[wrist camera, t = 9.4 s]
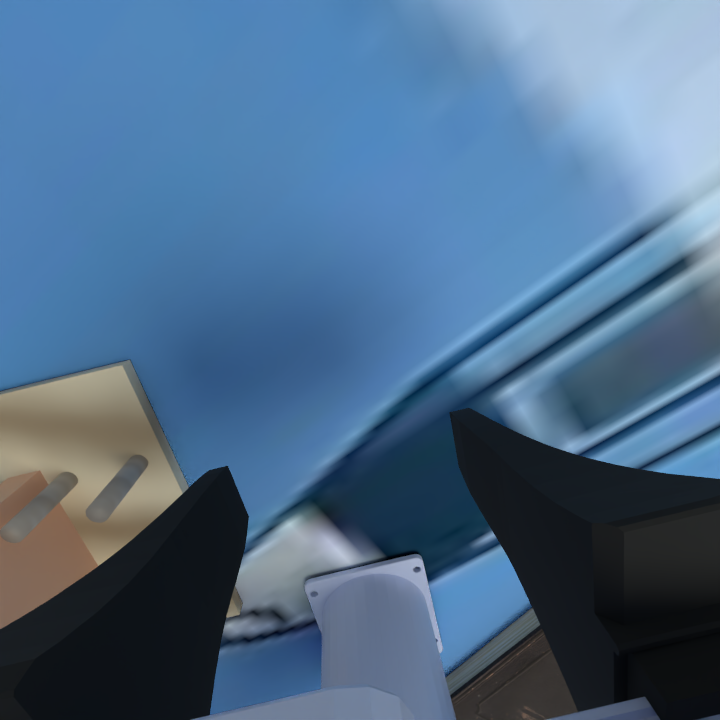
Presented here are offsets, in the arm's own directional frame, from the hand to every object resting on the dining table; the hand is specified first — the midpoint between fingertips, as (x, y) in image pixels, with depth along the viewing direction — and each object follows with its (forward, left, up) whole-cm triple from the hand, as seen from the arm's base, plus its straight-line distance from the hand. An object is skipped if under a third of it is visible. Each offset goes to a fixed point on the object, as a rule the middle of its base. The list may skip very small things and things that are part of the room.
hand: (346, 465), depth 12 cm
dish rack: (-6, +18, -9) cm, 21 cm away
